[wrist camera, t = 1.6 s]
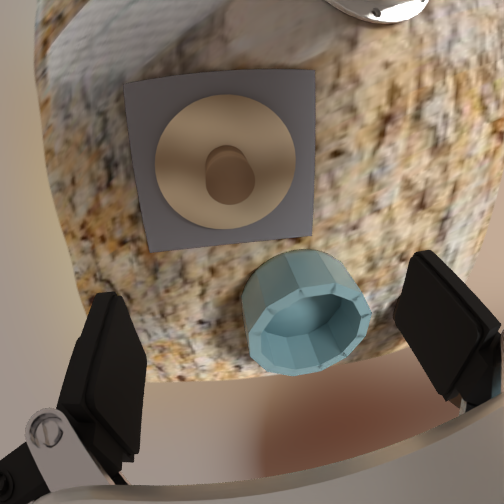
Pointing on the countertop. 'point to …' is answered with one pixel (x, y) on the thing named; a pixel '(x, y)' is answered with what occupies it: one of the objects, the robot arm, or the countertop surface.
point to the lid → (225, 161)
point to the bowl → (303, 313)
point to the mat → (205, 85)
